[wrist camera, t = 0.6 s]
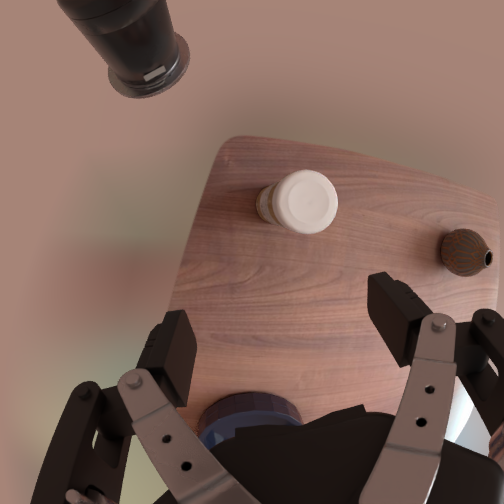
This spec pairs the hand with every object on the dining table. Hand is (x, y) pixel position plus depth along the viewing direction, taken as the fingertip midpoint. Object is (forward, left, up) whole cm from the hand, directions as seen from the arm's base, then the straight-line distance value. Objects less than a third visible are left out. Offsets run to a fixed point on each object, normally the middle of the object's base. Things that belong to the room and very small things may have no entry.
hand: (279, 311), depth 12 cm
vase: (+5, +31, -21) cm, 38 cm away
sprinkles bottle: (-4, +4, -21) cm, 22 cm away
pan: (+28, -3, -21) cm, 35 cm away
